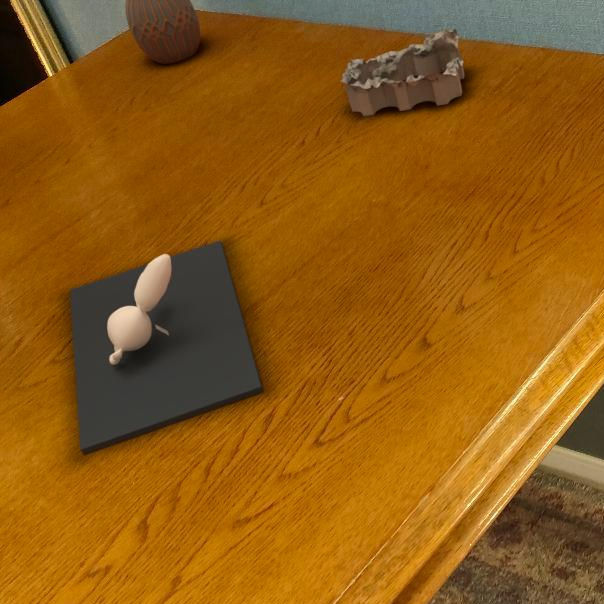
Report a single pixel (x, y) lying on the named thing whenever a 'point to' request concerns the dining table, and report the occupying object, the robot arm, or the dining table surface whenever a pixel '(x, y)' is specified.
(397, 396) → the dining table surface
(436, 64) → the egg carton
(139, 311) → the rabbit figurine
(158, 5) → the vase
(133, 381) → the mat
